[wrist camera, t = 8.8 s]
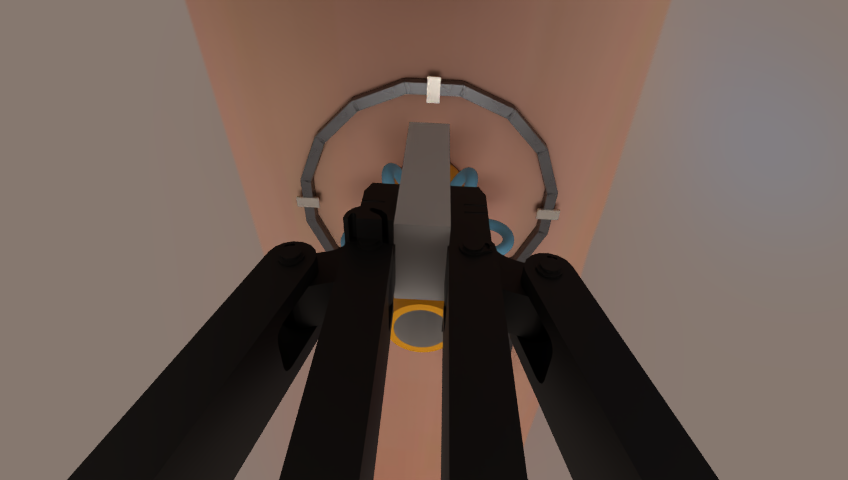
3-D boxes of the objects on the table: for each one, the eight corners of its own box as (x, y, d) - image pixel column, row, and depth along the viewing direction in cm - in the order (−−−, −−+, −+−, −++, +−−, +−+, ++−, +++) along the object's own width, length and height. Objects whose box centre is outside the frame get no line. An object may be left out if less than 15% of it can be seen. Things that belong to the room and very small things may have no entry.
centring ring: (280, 64, 32) (275, 69, 31) (589, 79, 32) (593, 84, 31) (314, 287, 45) (311, 295, 45) (533, 299, 45) (534, 307, 44)
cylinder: (444, 262, 43) (443, 409, 31) (341, 213, 40) (296, 355, 28) (527, 161, 36) (566, 300, 24) (410, 93, 33) (390, 213, 21)
